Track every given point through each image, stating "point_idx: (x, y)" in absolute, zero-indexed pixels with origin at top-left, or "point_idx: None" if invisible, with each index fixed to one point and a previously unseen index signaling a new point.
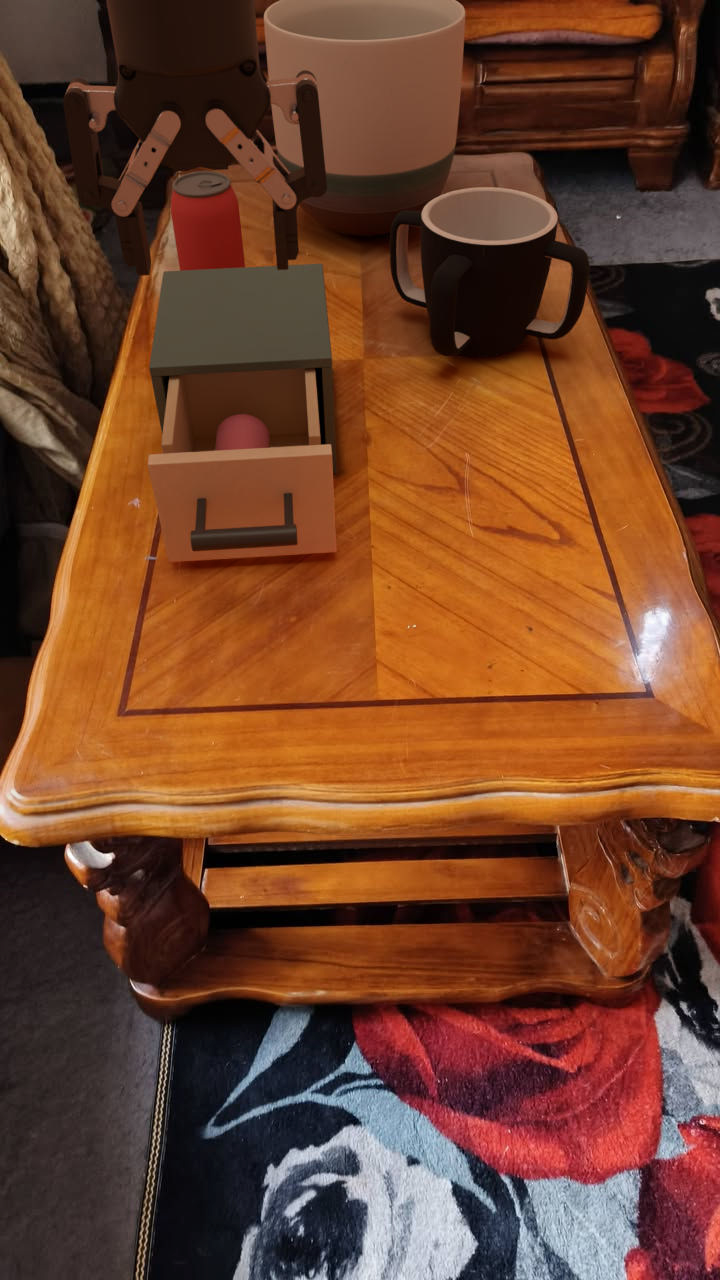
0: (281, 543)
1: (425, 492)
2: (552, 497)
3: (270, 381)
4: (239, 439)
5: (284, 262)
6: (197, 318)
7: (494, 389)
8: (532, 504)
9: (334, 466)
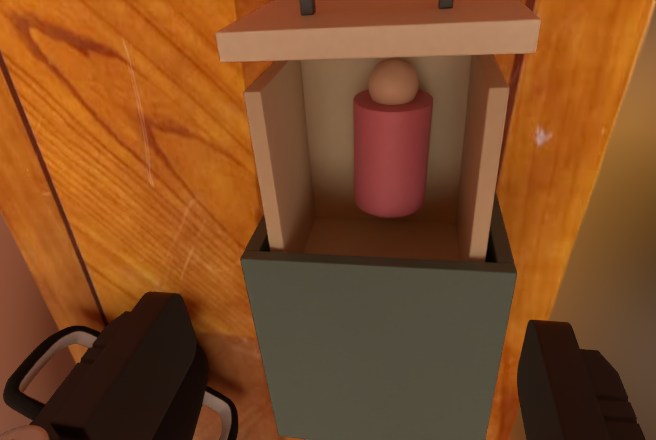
0: None
1: (186, 124)
2: (51, 103)
3: None
4: (387, 163)
5: (147, 301)
6: (436, 368)
7: (141, 278)
8: (69, 93)
9: None
